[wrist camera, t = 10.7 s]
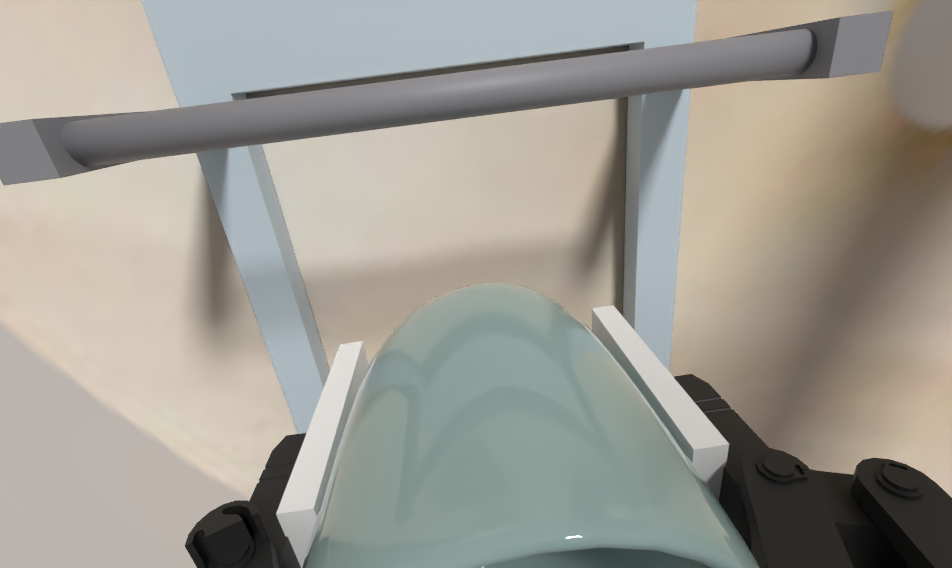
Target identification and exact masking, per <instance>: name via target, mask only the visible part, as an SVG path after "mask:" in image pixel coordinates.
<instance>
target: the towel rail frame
mask: <svg viewBox="0 0 952 568" xmlns="http://www.w3.org/2000/svg"><path fill="white" fill-rule="evenodd" d="M141 2H142V5H143V8H144V10H145V13H146V16H147V19H148V21H149V24H150V27H151V30H152V32H153V35H154V38H155V41H156V43H157V46H158V49H159V52H160V54H161V57H162V60H163V63H164V65H165V68H166V71H167V74H168V76H169V79H170V82H171V85H172V88H173V90H174V93H175V96H176V99H177V101H178V104H179V107H180V108H173V109H165V110H157V111H148V112H133V113H118V114H103V115H88V116H73V117H58V118H43V119H29V120H21V121H14V122H6V123H0V179H1V181H2V183H3V185H10V184H18V183H26V182H33V181H41V180H49V179H56V178H63V177H67V176H71V175H76V174H80V173H84V172H89V171H93V170H98V169H102V168H106V167H111V166H115V165H120V164H124V163H128V162H133V161H137V160H143V159H151V158H159V157H166V156H174V155H182V154H189V153H196V154H197V156H198V159H199V162H200V165H201V167H202V170H203V173H204V176H205V178H206V181H207V184H208V187H209V189H210V192H211V195H212V198H213V200H214V203H215V206H216V209H217V212H218V214H219V217H220V220H221V223H222V225H223V228H224V231H225V234H226V236H227V239H228V242H229V245H230V247H231V250H232V253H233V256H234V258H235V261H236V264H237V267H238V269H239V272H240V275H241V278H242V280H243V283H244V286H245V289H246V291H247V294H248V297H249V300H250V302H251V305H252V308H253V311H254V313H255V316H256V319H257V322H258V325H259V327H260V330H261V333H262V336H263V338H264V341H265V344H266V347H267V349H268V352H269V355H270V358H271V360H272V363H273V366H274V369H275V371H276V374H277V377H278V380H279V382H280V385H281V388H282V391H283V393H284V396H285V399H286V402H287V404H288V407H289V410H290V413H291V415H292V418H293V421H294V424H295V426H296V429H297V432H298V434H302V433H307V431H308V428H309V426H310V423H311V420H312V418H313V415H314V412H315V410H316V407H317V405H318V402H319V399H320V397H321V394H322V391H323V389H324V386H325V383H326V381H327V378H328V375H329V373H330V369H329V366H328V363H327V359H326V356H325V353H324V350H323V346H322V343H321V340H320V336H319V333H318V330H317V326H316V323H315V320H314V316H313V313H312V310H311V307H310V303H309V300H308V297H307V293H306V290H305V287H304V283H303V280H302V277H301V273H300V270H299V267H298V263H297V260H296V257H295V254H294V250H293V247H292V244H291V240H290V237H289V234H288V230H287V227H286V224H285V220H284V217H283V214H282V211H281V207H280V204H279V201H278V197H277V194H276V191H275V187H274V184H273V181H272V177H271V174H270V171H269V168H268V164H267V161H266V158H265V154H264V151H263V148H262V144H267V143H274V142H282V141H290V140H298V139H305V138H313V137H321V136H328V135H336V134H344V133H352V132H359V131H367V130H375V129H382V128H390V127H398V126H406V125H413V124H421V123H429V122H436V121H444V120H452V119H460V118H467V117H475V116H483V115H490V114H498V113H506V112H514V111H521V110H529V109H537V108H545V107H552V106H560V105H568V104H575V103H583V102H591V101H599V100H606V99H614V98H622V97H628V112H627V157H626V202H625V248H624V293H623V317H624V319H625V320H626V321H627V322H628V323H629V325H630V326H631V327H632V328H633V329H634V331H635V332H636V333H637V334H638V335H639V337H640V338H641V339H642V340H643V341H644V343H645V344H646V345H647V346H648V347H649V349H650V350H651V351H652V352H653V353H654V355H655V356H656V357H657V358H658V359H659V361H660V362H661V363H662V364H663V365H664V367H665V368H666V369H667V370H668V371H669V369H670V356H671V343H672V329H673V316H674V303H675V289H676V276H677V263H678V249H679V236H680V223H681V209H682V196H683V183H684V169H685V156H686V143H687V129H688V116H689V103H690V89H691V88H699V87H707V86H714V85H722V84H730V83H738V82H745V81H762V80H789V79H817V78H833V77H841V76H848V75H856V74H864V73H872V72H879V71H880V67H881V63H882V59H883V54H884V50H885V46H886V41H887V37H888V33H889V28H890V24H891V20H892V16H893V11H887V12H879V13H871V14H863V15H855V16H847V17H840V18H834V19H829V20H823V21H818V22H813V23H807V24H802V25H796V26H791V27H786V28H780V29H775V30H770V31H764V32H759V33H753V34H748V35H743V36H737V37H732V38H726V39H719V40H711V41H703V42H695V43H694V36H695V22H696V9H697V0H141ZM626 45H629V51H624V52H616V53H608V54H600V55H592V56H585V57H577V58H569V59H561V60H553V61H545V62H537V63H529V64H521V65H513V66H505V67H498V68H490V69H482V70H474V71H466V72H458V73H450V74H442V75H434V76H426V77H418V78H411V79H403V80H395V81H387V82H379V83H371V84H363V85H355V86H347V87H339V88H331V89H323V90H316V91H308V92H300V93H292V94H284V95H276V96H268V97H260V98H252V99H248V98H247V95H246V93H253V92H261V91H269V90H277V89H285V88H293V87H301V86H309V85H317V84H325V83H333V82H341V81H349V80H357V79H365V78H373V77H380V76H388V75H396V74H404V73H412V72H420V71H428V70H436V69H444V68H452V67H460V66H468V65H476V64H484V63H492V62H499V61H507V60H515V59H523V58H531V57H539V56H547V55H555V54H563V53H571V52H579V51H587V50H595V49H603V48H611V47H618V46H626Z"/></svg>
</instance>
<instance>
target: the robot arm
mask: <svg viewBox="0 0 952 568" xmlns="http://www.w3.org/2000/svg"><path fill="white" fill-rule="evenodd" d="M592 332H593V333H594V334H595V335H596V336H597V337H598V339H599V340H600V341H601V342H602V343H603V344H604V345H605V346H606V347H607V349H608V350H609V351H610V352H611V353H612V354H613V355H614V356H615V358H616V359H617V360H618V361H619V363H620V364H621V365H622V366H623V368H624V369H625V370H626V371H627V373H628V374H629V375H630V376H631V378H632V379H633V380H634V382H635V383H636V384H637V386H638V387H639V389H640V390H641V391H642V393H643V394H644V395H645V397H646V398H647V399H648V401H649V402H650V404H651V405H652V406H653V408H654V409H655V411H656V412H657V413H658V415H659V416H660V418H661V419H662V420H663V422H664V423H665V425H666V426H667V428H668V429H669V430H670V432H671V433H672V435H673V436H674V438H675V439H676V441H677V442H678V443H679V445H680V446H681V448H682V449H683V451H684V452H685V453H686V455H687V456H688V458H689V459H690V461H691V462H692V464H693V465H694V467H695V468H696V469H697V471H698V472H699V474H700V475H701V477H702V478H703V480H704V481H705V482H706V484H707V485H708V487H709V488H710V490H711V491H712V493H713V494H714V496H715V497H716V499H717V500H718V502H719V503H720V505H721V506H722V508H723V509H724V510H725V512H726V513H727V515H728V517H729V518H730V520H731V521H732V523H733V524H734V526H735V527H736V529H737V530H738V532H739V534H740V535H741V537H742V538H743V540H744V541H745V543H746V545H747V546H748V548H749V550H750V551H751V553H752V555H753V557H754V558H755V560H756V562H757V563H758V565H759V567H760V568H952V498H951V497H950V496H949V495H948V494H947V493H946V492H945V491H944V490H943V489H942V488H941V487H940V486H939V485H938V484H936V483H935V482H934V481H933V480H931V479H930V478H929V477H927V476H926V475H925V474H923V473H922V472H920V471H918V470H916V469H914V468H912V467H910V466H908V465H906V464H903V463H899V462H896V461H893V460H890V459H881V458H871V459H866V460H862V461H861V462H860V463H859V464H858V465H857V466H856V469H855V473H854V475H851V474H842V473H832V472H823V471H816V470H810V469H809V468H808V466H806V465H805V464H804V463H802V462H801V461H800V460H799V459H797V458H796V457H794V456H792V455H790V454H788V453H785V452H783V451H779V450H775V449H771V448H768V446H767V445H766V444H765V443H764V442H763V441H762V440H761V439H760V438H759V437H758V436H757V435H756V434H755V433H754V432H753V430H752V429H751V428H750V427H749V426H748V425H747V424H746V423H745V422H744V421H743V420H742V419H741V418H740V417H739V416H738V414H737V413H736V412H735V411H734V410H733V409H732V410H731V408H730V406H729V405H728V404H727V403H726V402H725V401H724V400H723V399H721V396H720V395H719V394H718V393H717V392H716V391H715V390H714V389H713V388H712V387H711V386H710V385H709V384H708V383H706V382H705V381H703V380H701V379H699V378H698V377H696V376H694V375H692V374H689V375H682V376H675V377H673V376H672V375H671V374H670V372H669V371H668V370H667V369H666V368H665V367H664V365H663V364H662V363H661V362H660V361H659V359H658V358H657V357H656V356H655V355H654V353H653V352H652V351H651V350H650V349H649V347H648V346H647V345H646V344H645V343H644V341H643V340H642V339H641V338H640V337H639V335H638V334H637V333H636V332H635V331H634V329H633V328H632V327H631V326H630V325H629V323H628V322H627V321H626V320H625V319H624V317H623V316H622V315H621V314H620V313H619V311H618V310H617V309H616V308H615V307H614V305H611V306H604V307H597V308H592ZM368 367H369V364H368V360H367V356H366V352H365V348H364V345H363V341H360V342H354V343H347V344H340V346H339V349H338V352H337V354H336V357H335V360H334V362H333V365H332V368H331V370H330V373H329V375H328V378H327V381H326V383H325V386H324V389H323V391H322V394H321V397H320V399H319V402H318V405H317V407H316V410H315V412H314V415H313V418H312V420H311V423H310V426H309V428H308V431H307V433H302V434H295V435H288V436H286V437H285V438H284V439H283V440H282V441H281V442H280V443H279V444H278V445H277V446H276V447H275V448H274V450H273V451H272V453H271V455H270V457H269V459H268V462H267V464H266V466H265V470H263V473H262V475H261V477H260V479H259V483H258V484H257V486H256V488H255V490H254V492H253V494H252V497H251V499H250V501H234V502H230V503H227V504H224V505H221V506H220V507H218V508H216V509H214V510H213V511H211V512H209V513H208V514H207V515H206V516H205V517H203V518H202V519H201V520H200V521H199V522H198V523H197V524H196V525H195V527H194V528H193V529H192V531H191V532H190V533H189V535H188V538H187V541H186V544H185V547H186V549H187V550H188V552H189V554H190V556H191V558H192V559H193V561H194V563H195V564H196V566H197V568H302V567H303V564H304V560H305V556H306V553H307V549H308V546H309V542H310V539H311V535H312V531H313V528H314V524H315V521H316V517H317V514H318V510H319V507H320V503H321V499H322V496H323V492H324V489H325V486H326V482H327V479H328V475H329V472H330V469H331V465H332V462H333V459H334V455H335V452H336V449H337V446H338V443H339V440H340V436H341V434H342V431H343V428H344V425H345V422H346V419H347V417H348V414H349V411H350V409H351V406H352V404H353V401H354V399H355V397H356V394H357V392H358V389H359V387H360V385H361V382H362V380H363V377H364V375H365V373H366V370H367V368H368Z"/></svg>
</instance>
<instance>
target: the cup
mask: <svg viewBox="0 0 952 568" xmlns="http://www.w3.org/2000/svg"><path fill="white" fill-rule="evenodd" d="M302 568H760V567H759V565H758V563H757V562H756V560H755V558H754V557H753V555H752V553H751V551H750V550H749V548H748V546H747V545H746V543H745V541H744V540H743V538H742V537H741V535H740V534H739V532H738V530H737V529H736V527H735V526H734V524H733V523H732V521H731V520H730V518H729V517H728V515H727V513H726V512H725V510H724V509H723V508H722V506H721V505H720V503H719V502H718V500H717V499H716V497H715V496H714V494H713V493H712V491H711V490H710V488H709V487H708V485H707V484H706V482H705V481H704V480H703V478H702V477H701V475H700V474H699V472H698V471H697V469H696V468H695V467H694V465H693V464H692V462H691V461H690V459H689V458H688V456H687V455H686V453H685V452H684V451H683V449H682V448H681V446H680V445H679V443H678V442H677V441H676V439H675V438H674V436H673V435H672V433H671V432H670V430H669V429H668V428H667V426H666V425H665V423H664V422H663V420H662V419H661V418H660V416H659V415H658V413H657V412H656V411H655V409H654V408H653V406H652V405H651V404H650V402H649V401H648V399H647V398H646V397H645V395H644V394H643V393H642V391H641V390H640V389H639V387H638V386H637V384H636V383H635V382H634V380H633V379H632V378H631V376H630V375H629V374H628V373H627V371H626V370H625V369H624V368H623V366H622V365H621V364H620V363H619V361H618V360H617V359H616V358H615V356H614V355H613V354H612V353H611V352H610V351H609V350H608V349H607V347H606V346H605V345H604V344H603V343H602V342H601V341H600V340H599V339H598V337H597V336H596V335H595V334H594V333H593V332H592V331H591V330H590V329H589V328H588V327H587V326H586V325H585V324H584V323H583V322H582V321H581V320H580V319H579V318H578V317H577V316H576V315H575V314H574V313H572V312H571V311H569V310H568V309H567V308H565V307H564V306H562V305H561V304H559V303H558V302H556V301H555V300H554V299H552V298H551V297H549V296H548V295H546V294H543V293H541V292H538V291H536V290H533V289H531V288H528V287H526V286H523V285H519V284H512V283H505V282H487V283H476V284H472V285H468V286H464V287H459V288H456V289H453V290H451V291H448V292H446V293H444V294H441V295H439V296H437V297H435V298H433V299H431V300H430V301H428V302H426V303H425V304H423V305H422V306H420V307H418V308H417V309H416V310H414V311H413V312H412V313H411V314H410V315H409V316H408V317H407V318H405V319H404V320H403V321H402V322H401V323H400V324H399V325H397V326H396V327H395V328H394V329H393V331H392V332H391V333H390V335H389V336H388V337H387V339H386V340H385V341H384V343H383V344H382V345H381V347H380V348H379V350H378V351H377V352H376V354H375V355H374V357H373V359H372V361H371V363H370V365H369V367H368V368H367V370H366V373H365V375H364V377H363V380H362V382H361V385H360V387H359V389H358V392H357V394H356V397H355V399H354V401H353V404H352V406H351V409H350V411H349V414H348V417H347V419H346V422H345V425H344V428H343V431H342V434H341V436H340V440H339V443H338V446H337V449H336V452H335V455H334V459H333V462H332V465H331V469H330V472H329V475H328V479H327V482H326V486H325V489H324V492H323V496H322V499H321V503H320V507H319V510H318V514H317V517H316V521H315V524H314V528H313V531H312V535H311V539H310V542H309V546H308V549H307V553H306V556H305V560H304V564H303V567H302Z"/></svg>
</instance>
